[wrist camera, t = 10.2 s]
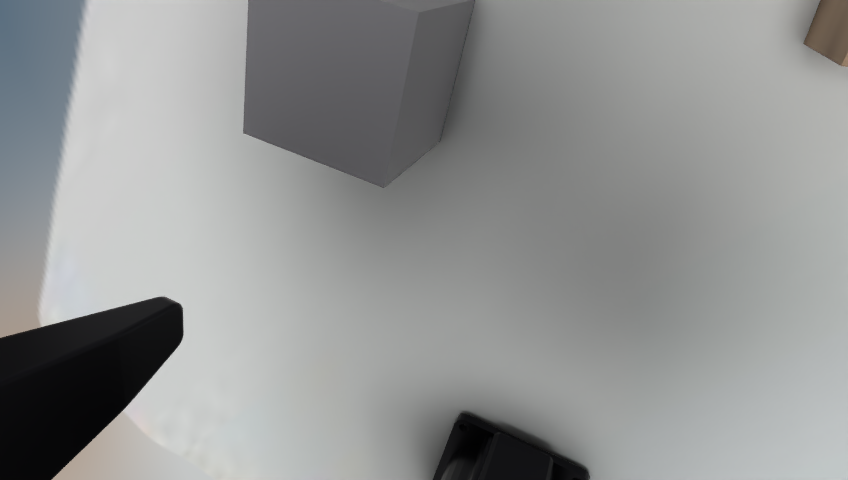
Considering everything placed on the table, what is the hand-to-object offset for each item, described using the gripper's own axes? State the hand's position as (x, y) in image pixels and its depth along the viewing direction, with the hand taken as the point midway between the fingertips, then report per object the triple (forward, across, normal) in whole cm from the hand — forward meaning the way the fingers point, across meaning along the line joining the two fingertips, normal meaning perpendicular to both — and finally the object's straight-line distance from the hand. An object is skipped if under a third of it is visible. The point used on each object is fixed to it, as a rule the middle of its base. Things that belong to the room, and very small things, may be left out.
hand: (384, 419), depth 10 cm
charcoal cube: (+12, +6, -3) cm, 14 cm away
